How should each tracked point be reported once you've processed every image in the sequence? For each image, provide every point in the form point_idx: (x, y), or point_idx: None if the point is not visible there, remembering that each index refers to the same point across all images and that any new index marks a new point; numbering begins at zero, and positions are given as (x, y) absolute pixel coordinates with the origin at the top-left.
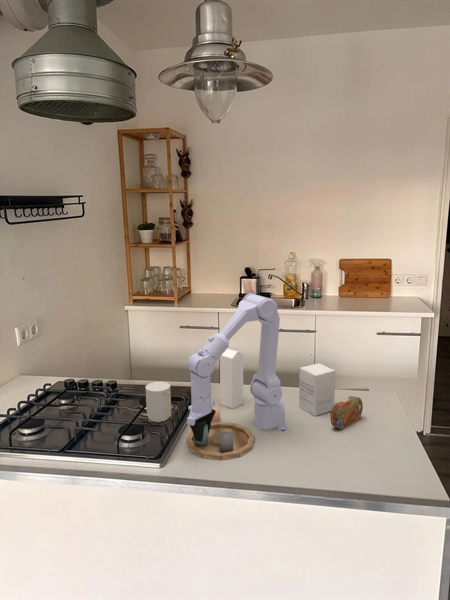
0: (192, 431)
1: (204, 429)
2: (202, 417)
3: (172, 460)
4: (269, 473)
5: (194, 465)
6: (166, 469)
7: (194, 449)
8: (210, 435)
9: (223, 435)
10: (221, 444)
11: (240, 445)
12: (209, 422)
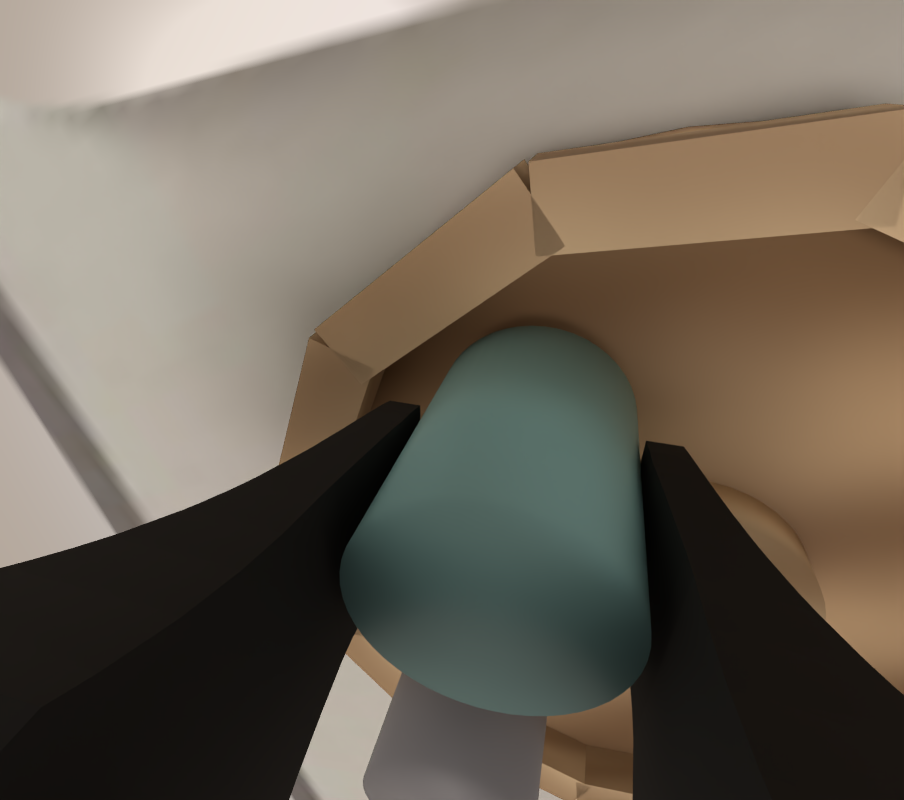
0: (265, 474)
1: (404, 658)
2: (692, 791)
3: (153, 137)
4: None
5: (219, 397)
6: (8, 159)
7: (298, 396)
8: (831, 446)
9: (424, 793)
10: (397, 685)
11: (623, 712)
12: (637, 771)
